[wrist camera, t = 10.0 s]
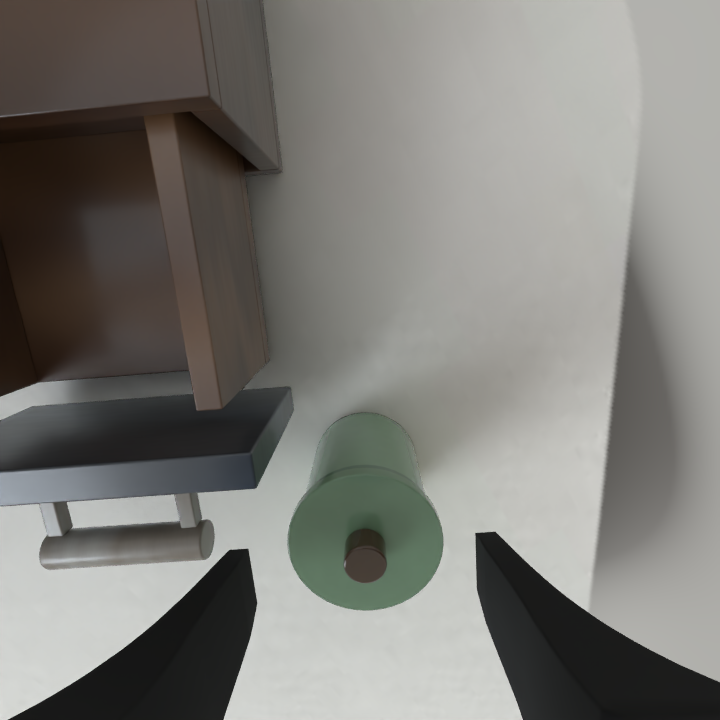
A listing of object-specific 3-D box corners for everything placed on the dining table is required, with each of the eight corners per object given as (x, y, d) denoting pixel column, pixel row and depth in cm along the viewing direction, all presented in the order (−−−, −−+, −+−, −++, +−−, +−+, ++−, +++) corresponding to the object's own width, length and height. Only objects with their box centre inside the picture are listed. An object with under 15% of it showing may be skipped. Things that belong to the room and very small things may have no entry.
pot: (384, 525, 22) (393, 659, 14) (292, 476, 21) (252, 590, 14) (441, 441, 21) (482, 540, 13) (345, 387, 20) (333, 459, 13)
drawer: (304, 491, 20) (274, 603, 14) (59, 507, 21) (-85, 624, 14) (256, 106, 17) (182, 3, 10) (-41, 135, 17) (-302, 56, 10)
